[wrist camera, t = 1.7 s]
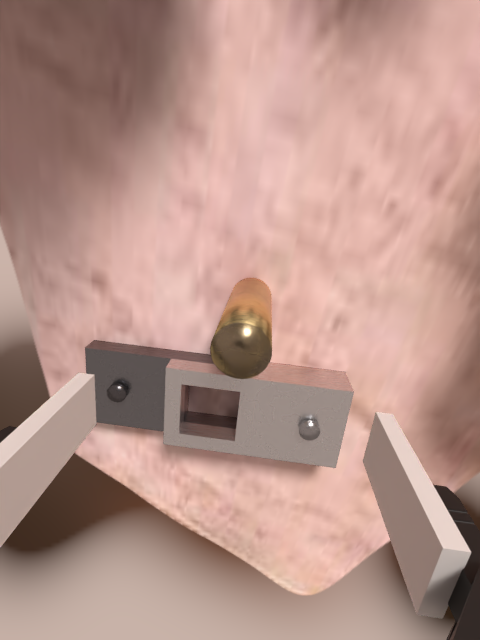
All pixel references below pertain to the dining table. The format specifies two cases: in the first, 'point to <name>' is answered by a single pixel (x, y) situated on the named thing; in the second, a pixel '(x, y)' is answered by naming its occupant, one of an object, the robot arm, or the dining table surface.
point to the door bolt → (213, 430)
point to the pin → (244, 331)
